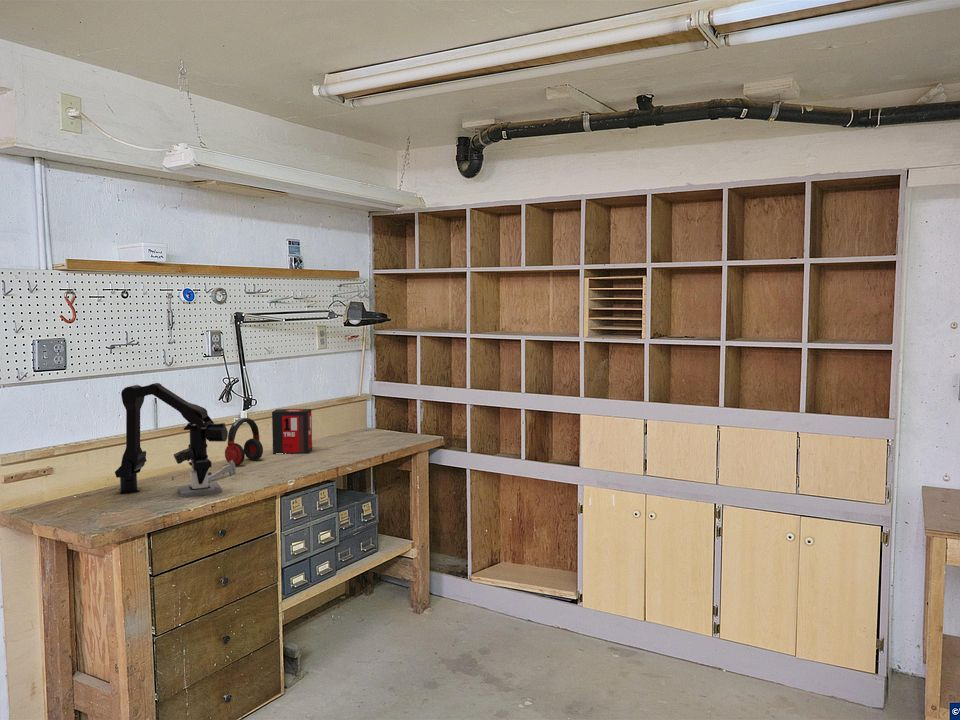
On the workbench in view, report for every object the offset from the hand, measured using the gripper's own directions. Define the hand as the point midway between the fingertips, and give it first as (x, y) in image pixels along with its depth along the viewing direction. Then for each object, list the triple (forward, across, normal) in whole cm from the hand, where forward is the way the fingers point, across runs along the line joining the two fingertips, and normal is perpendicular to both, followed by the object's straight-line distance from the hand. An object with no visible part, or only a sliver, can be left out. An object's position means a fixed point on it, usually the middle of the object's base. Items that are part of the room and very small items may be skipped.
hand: (199, 482), depth 270 cm
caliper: (+4, -17, +9) cm, 20 cm away
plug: (+2, 0, 0) cm, 2 cm away
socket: (+3, 0, 0) cm, 3 cm away
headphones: (+4, -43, +25) cm, 50 cm away
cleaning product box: (+4, -56, +50) cm, 75 cm away
